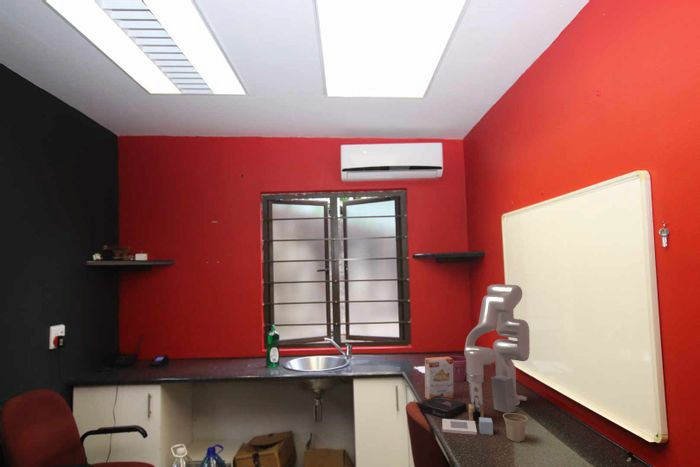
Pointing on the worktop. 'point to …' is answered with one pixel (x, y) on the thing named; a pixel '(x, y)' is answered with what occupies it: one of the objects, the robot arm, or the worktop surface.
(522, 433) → the flower pot
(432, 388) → the cracker box
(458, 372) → the plant pot
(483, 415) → the oak block
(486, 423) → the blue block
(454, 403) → the portable cd player
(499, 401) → the skincare box
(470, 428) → the board
